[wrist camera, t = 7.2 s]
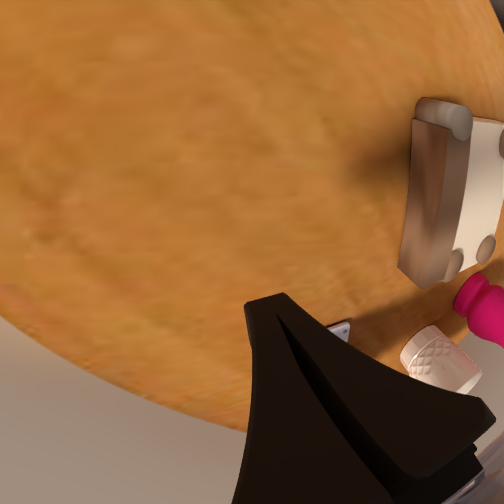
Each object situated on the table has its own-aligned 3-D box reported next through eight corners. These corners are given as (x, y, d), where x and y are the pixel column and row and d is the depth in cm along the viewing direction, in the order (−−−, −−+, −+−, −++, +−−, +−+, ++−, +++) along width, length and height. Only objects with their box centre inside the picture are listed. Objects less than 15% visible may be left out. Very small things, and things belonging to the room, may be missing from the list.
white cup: (444, 311, 33) (491, 361, 25) (432, 346, 37) (469, 392, 29) (400, 338, 32) (447, 397, 24) (391, 371, 36) (428, 424, 28)
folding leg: (412, 96, 17) (452, 104, 13) (437, 98, 17) (475, 107, 14) (397, 267, 25) (423, 292, 21) (420, 258, 25) (446, 281, 22)
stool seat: (472, 247, 28) (490, 260, 25) (417, 269, 26) (437, 287, 24) (495, 120, 20) (518, 128, 17) (439, 113, 18) (469, 121, 16)
